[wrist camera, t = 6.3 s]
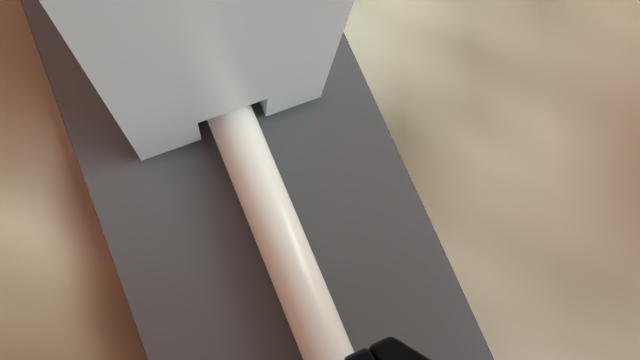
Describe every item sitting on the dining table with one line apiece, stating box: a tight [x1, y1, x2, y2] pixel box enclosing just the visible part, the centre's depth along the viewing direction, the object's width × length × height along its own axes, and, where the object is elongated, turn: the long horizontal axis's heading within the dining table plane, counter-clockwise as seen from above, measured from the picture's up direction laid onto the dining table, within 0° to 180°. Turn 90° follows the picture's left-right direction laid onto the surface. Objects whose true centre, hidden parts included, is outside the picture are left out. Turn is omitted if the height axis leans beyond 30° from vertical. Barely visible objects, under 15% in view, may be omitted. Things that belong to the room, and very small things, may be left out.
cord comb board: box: [21, 0, 494, 360], centre depth 14 cm, size 25×8×4 cm, turn 23°
